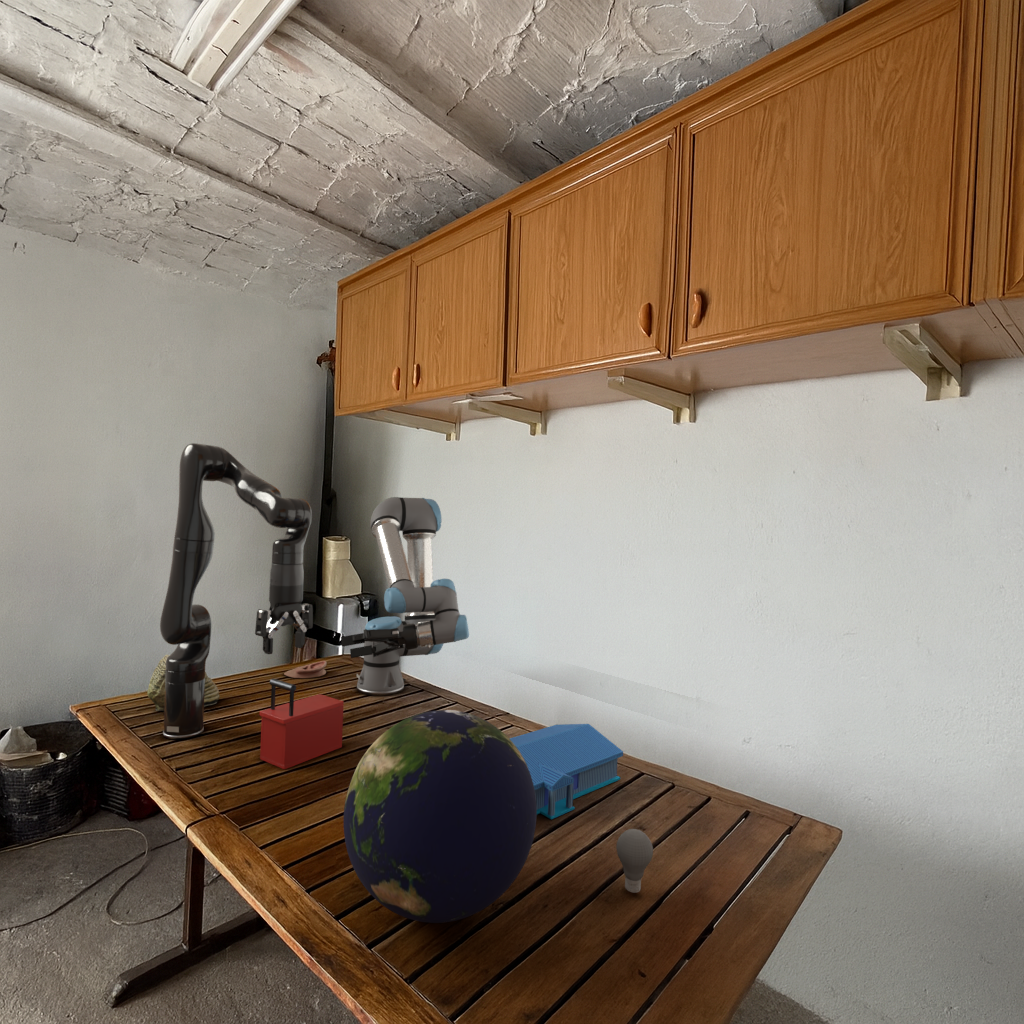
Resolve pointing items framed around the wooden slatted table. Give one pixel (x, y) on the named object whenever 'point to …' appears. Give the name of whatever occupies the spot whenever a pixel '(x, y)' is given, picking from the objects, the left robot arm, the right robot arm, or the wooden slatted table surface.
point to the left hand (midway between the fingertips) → (284, 650)
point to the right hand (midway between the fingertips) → (346, 647)
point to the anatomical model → (308, 670)
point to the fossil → (158, 687)
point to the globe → (440, 816)
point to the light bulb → (634, 857)
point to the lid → (297, 705)
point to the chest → (301, 738)
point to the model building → (567, 764)
